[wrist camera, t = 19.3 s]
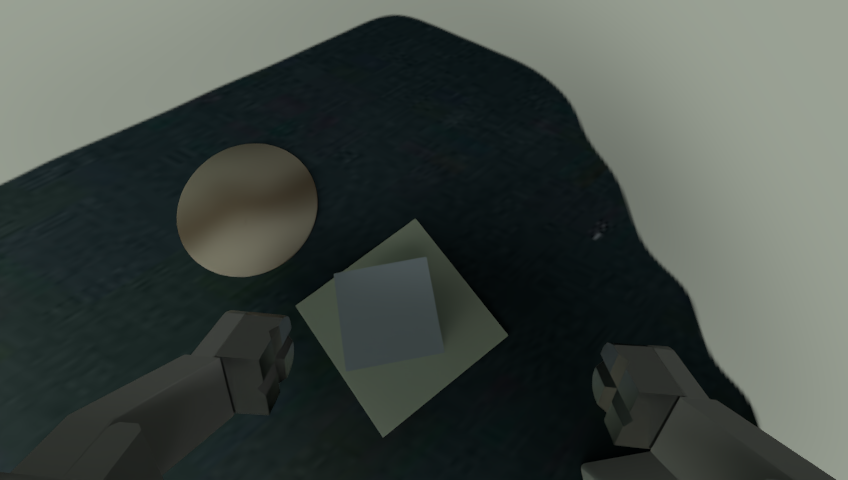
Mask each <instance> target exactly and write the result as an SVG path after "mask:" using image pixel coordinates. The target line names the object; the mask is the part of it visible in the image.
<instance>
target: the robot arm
mask: <svg viewBox="0 0 848 480" xmlns="http://www.w3.org/2000/svg"><path fill="white" fill-rule="evenodd" d="M290 330H291V322H290V318H289V317H288V316H284V315H275V314H266V313H256V312H243V311H234V310H230V311H227V312H225V313H224V314H223V316H222V317H221V318H220V319H219V321H218V322H217V323H216V324H215V326H214V327H213V328H212V329H211V331H210V332H209V333H208V334H207V336H206V337H205V338H204V339H203V340H202V342H201V343H200V344H199V345H198V347H197V348H196V349H195V350H194V352H193V353H192V354H191V355H183V356H181V357H179V358H177V359H175V360H173V361H172V362H170V363H168V364H166V365H164V366H162V367H160V368H158V369H156V370H154V371H152V372H150V373H148V374H146V375H145V376H143V377H141V378H139V379H137V380H135V381H133V382H131V383H129V384H127V385H125V386H123V387H121V388H120V389H118V390H116V391H114V392H112V393H110V394H108V395H106V396H104V397H102V398H100V399H98V400H96V401H95V402H93V403H91V404H89V405H87V406H85V407H83V408H81V409H79V410H77V411H75V412H73V413H71V414H70V415H68V416H67V417H66V418H65V419H64V420H63V421H62V422H61V423H60V424H59V425H58V426H57V427H56V428H55V429H54V430H53V431H52V432H51V433H50V434H49V435H48V436H47V437H46V438H45V439H44V440H43V441H42V442H41V443H40V444H39V445H38V446H37V447H36V448H35V449H34V450H33V451H32V452H31V453H30V454H29V455H28V456H27V457H26V458H25V459H24V460H23V461H22V462H21V463H20V464H19V465H18V466H17V467H16V468H15V469H14V470H13V471H12V472H11V473H4V472H0V480H164V479H163V477H162V475H163V474H164V473H166V472H167V471H168V470H169V469H170V468H172V467H173V466H174V465H175V464H176V463H178V462H179V461H180V460H181V459H182V458H184V457H185V456H186V455H187V454H188V453H189V452H191V451H192V450H193V449H194V448H195V447H197V446H198V445H199V444H200V443H201V442H203V441H204V440H205V439H206V438H207V437H209V436H210V435H211V434H212V433H213V432H215V431H216V430H217V429H218V428H219V427H221V426H222V425H223V424H224V423H225V422H226V421H228V420H229V419H230V418H231V417H232V416H234V413H242V414H259V415H270V413H271V410H272V408H273V406H274V404H275V402H276V400H277V398H278V396H279V393H280V389H279V383H280V382H282V381H283V380H284V379H286V378H287V376H288V374H289V372H290V369H291V366H292V362H293V357H294V344H293V341H292V339H291V338H290V337H289V336H288V334H289V332H290ZM601 356H602V358H603V360H604V361H603V362H602V363H600V364H599V365H597V366H596V367H595V370H594V373H593V376H592V389H593V393H594V397H595V400H596V402H597V404H598V405H599V406H600V407H601V408H602V409H603V410H604V411H605V412H607V414H606V416H605V419H604V422H605V424H606V426H607V429H608V431H609V433H610V436H611V438H612V441H613V443H614V445H618V446H627V447H636V448H644V449H651V450H650V451H651V452H652V453H653V454H654V455H655V456H656V458H657V459H658V460H659V461H660V462H661V463H662V464H663V465H664V466H665V467H666V468H667V469H668V470H669V471H670V472H671V473H672V474H673V475H674V476H675V477H676V478H677V479H678V480H836V479H834V478H833V477H831V476H830V475H828V474H827V473H825V472H824V471H822V470H821V469H819V468H818V467H816V466H815V465H813V464H812V463H810V462H809V461H807V460H806V459H804V458H803V457H801V456H800V455H798V454H797V453H795V452H794V451H792V450H791V449H789V448H788V447H786V446H785V445H783V444H782V443H780V442H779V441H777V440H776V439H774V438H773V437H771V436H770V435H768V434H767V433H765V432H764V431H762V430H761V429H759V428H758V427H756V426H755V425H753V424H752V423H750V422H749V421H747V420H746V419H744V418H743V417H741V416H740V415H738V414H737V413H735V412H734V411H732V410H731V409H729V408H728V407H726V406H725V405H723V404H722V403H720V402H719V401H717V400H712V399H709V398H708V396H707V395H706V393H705V392H704V391H703V389H702V388H701V387H700V385H699V384H698V383H697V381H696V380H695V379H694V377H693V376H692V374H691V373H690V372H689V370H688V369H687V368H686V366H685V365H684V364H683V362H682V361H681V359H680V358H679V357H678V355H677V354H676V353H675V351H674V350H673V349H671V348H670V347H667V346H652V345H647V346H645V345H633V344H620V343H606V344H605V345H604V346H603V349H602V351H601Z"/></svg>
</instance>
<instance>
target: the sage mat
mask: <svg viewBox="0 0 848 480" xmlns="http://www.w3.org/2000/svg"><path fill="white" fill-rule="evenodd" d="M421 257H427V262H428V267H429V273H430V278H431V283H432V288H433V294H434V299H435V304H436V309H437V315H438V320H439V325H440V331H441V336H442V341H443V346H444V352H445V353H440V354H435V355H430V356H425V357H420V358H414V359H409V360H404V361H399V362H393V363H388V364H383V365H378V366H373V367H367V368H362V369H357V370H352V371H347V372H346V368H345V360H344V352H343V344H342V336H341V329H340V321H339V313H338V305H337V297H336V289H335V281H334V278H333V279H332V280H330V281H329V282H328V283H326V284H325V285H323V286H322V287H321V288H319V289H318V290H317V291H315V292H314V293H312V294H311V295H310V296H308V297H307V298H306V299H304V300H303V301H301V302H300V303H299V304H297V305H296V308H297V309H298V311H299V312H300V314H301V315H302V317H303V318H304V320H305V321H306V323H307V324H308V326H309V327H310V329H311V330H312V332H313V333H314V335H315V336H316V338H317V339H318V341H319V342H320V344H321V345H322V347H323V348H324V350H325V351H326V353H327V354H328V356H329V357H330V359H331V360H332V362H333V363H334V365H335V366H336V368H337V369H338V371H339V372H340V374H341V375H342V377H343V378H344V380H345V381H346V383H347V384H348V386H349V387H350V389H351V390H352V392H353V393H354V395H355V396H356V398H357V399H358V401H359V402H360V404H361V405H362V407H363V408H364V410H365V411H366V413H367V414H368V416H369V417H370V419H371V420H372V422H373V423H374V425H375V426H376V428H377V429H378V431H379V432H380V434H381V435H382V437H384V436H386V435H387V434H388V433H389V432H391V431H392V430H393V429H394V428H396V427H397V426H398V425H399V424H400V423H402V422H403V421H404V420H405V419H407V418H408V417H409V416H410V415H411V414H413V413H414V412H415V411H416V410H418V409H419V408H420V407H421V406H422V405H424V404H425V403H426V402H427V401H429V400H430V399H431V398H432V397H434V396H435V395H436V394H437V393H438V392H440V391H441V390H442V389H443V388H445V387H446V386H447V385H448V384H449V383H451V382H452V381H453V380H454V379H456V378H457V377H458V376H459V375H461V374H462V373H463V372H464V371H465V370H467V369H468V368H469V367H470V366H472V365H473V364H474V363H475V362H476V361H478V360H479V359H480V358H481V357H483V356H484V355H485V354H486V353H488V352H489V351H490V350H491V349H492V348H494V347H495V346H496V345H497V344H499V343H500V342H501V341H502V340H503V339H505V338H506V337H507V336H508V334H507V333H506V332H505V331H504V329H503V328H502V327H501V325H500V324H499V323H498V322H497V320H496V319H495V318H494V317H493V315H492V314H491V313H490V312H489V310H488V309H487V308H486V307H485V305H484V304H483V303H482V302H481V300H480V299H479V298H478V297H477V295H476V294H475V293H474V291H473V290H472V289H471V288H470V286H469V285H468V284H467V283H466V281H465V280H464V279H463V278H462V276H461V275H460V274H459V273H458V271H457V270H456V269H455V268H454V266H453V265H452V264H451V263H450V261H449V260H448V259H447V257H446V256H445V255H444V254H443V252H442V251H441V250H440V249H439V247H438V246H437V245H436V244H435V242H434V241H433V240H432V239H431V237H430V236H429V235H428V234H427V232H426V231H425V230H424V229H423V227H422V226H421V225H420V223H419V222H418V221H417V220H416V218H415V219H414V220H413V221H411V222H410V223H409V224H407V225H406V226H404V227H403V228H402V229H400V230H399V231H398V232H396V233H395V234H393V235H392V236H391V237H389V238H388V239H387V240H385V241H384V242H382V243H381V244H380V245H378V246H377V247H376V248H374V249H373V250H371V251H370V252H369V253H367V254H366V255H365V256H363V257H362V258H360V259H359V260H358V261H356V262H355V263H354V264H352V265H351V266H349V267H348V268H347V269H345V270H344V271H343V272H346V271H351V270H356V269H362V268H367V267H373V266H378V265H383V264H389V263H394V262H400V261H405V260H411V259H416V258H421Z"/></svg>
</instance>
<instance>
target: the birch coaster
mask: <svg viewBox="0 0 848 480" xmlns="http://www.w3.org/2000/svg"><path fill="white" fill-rule="evenodd" d="M317 209H318V197H317V190H316V187H315V183H314V181H313V178H312V176H311V174H310V173H309V171H308V170H307V168H306V167H305V166H304V165H303V163H302V162H301V161H300V160H299V159H297V158H296V157H295V156H294V155H292V154H291V153H289V152H288V151H286V150H283V149H281V148H279V147H275V146H272V145H267V144H256V143H255V144H244V145H238V146H235V147H231V148H228V149H226V150H224V151H221V152H219V153H218V154H216V155H214V156H213V157H211V158H210V159H208V160H207V161H206V162H204V163H203V164H202V165H201V166H200V167H199V168H198V169H197V170H196V171H195V172H194V174H193V175H192V176H191V178H190V179H189V180H188V182H187V184H186V186H185V187H184V189H183V192H182V194H181V197H180V200H179V204H178V210H177V227H178V232H179V236H180V239H181V241H182V243H183V245H184V247H185V249H186V250H187V252H188V253H189V255H190V256H191V257H192V258H193V259H194V260H195V261H196V262H197V263H199V264H200V265H201V266H203V267H205V268H206V269H208V270H210V271H212V272H215V273H218V274H221V275H226V276H231V277H249V276H254V275H259V274H262V273H265V272H268V271H270V270H273V269H275V268H277V267H279V266H280V265H282V264H283V263H285V262H286V261H288V260H289V259H290V258H291V257H293V256H294V255H295V254H296V253H297V252H298V251H299V250H300V248H301V247H302V246H303V244H304V243H305V242H306V240H307V238H308V237H309V235H310V233H311V231H312V229H313V226H314V223H315V220H316V216H317Z"/></svg>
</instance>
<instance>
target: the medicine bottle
mask: <svg viewBox="0 0 848 480" xmlns="http://www.w3.org/2000/svg"><path fill="white" fill-rule="evenodd" d="M581 473H582V477H583V480H678V479H677V478H676V477H675V476H674V475H673V474H672V473H671V472H670V471H669V470H668V469H667V468H666V467H665V466H664V465H663V464H662V463H661V462H660V461H659V460H658V459H657V458H656V456H655V455H654V454H653V453H652V452H651V451H649V452H644V453H638V454H633V455H627V456H622V457H616V458H611V459H605V460H600V461H594V462H589V463H584V464H582V466H581Z"/></svg>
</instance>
